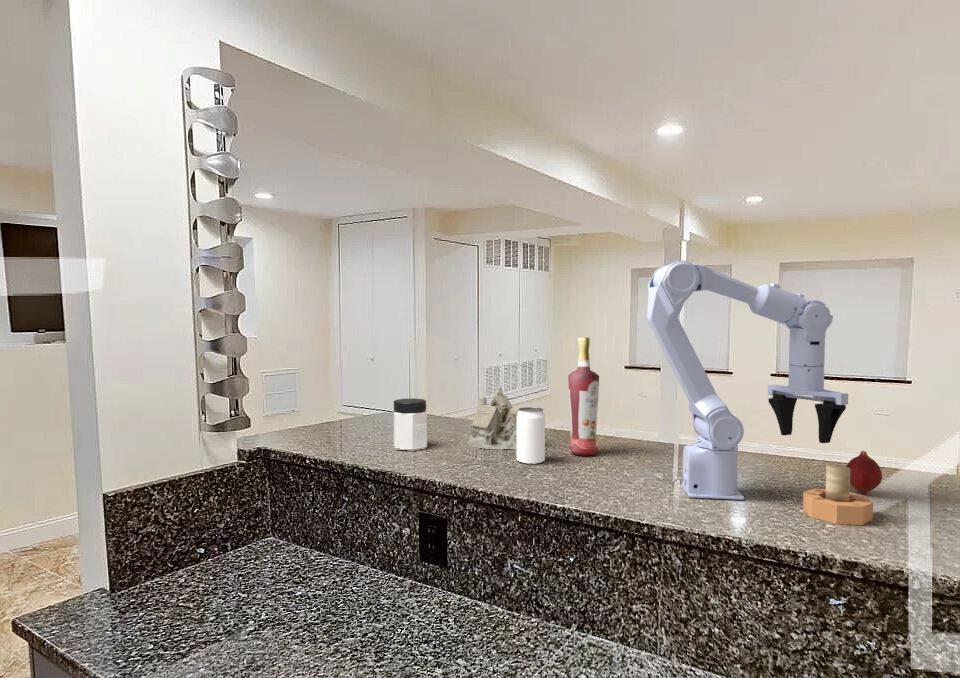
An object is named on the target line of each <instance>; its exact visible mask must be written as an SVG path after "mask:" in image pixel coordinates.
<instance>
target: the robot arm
mask: <svg viewBox="0 0 960 678" xmlns="http://www.w3.org/2000/svg"><path fill="white" fill-rule="evenodd" d="M647 290H648V297H647V299H648V300H647V311H646V319H647V322H648V324H649V326H650V329H651V330H652V332H653V335H655V338H656V340H657V342H658V344H659V345H660V348H661V349H662V352H663V353H664V355H665V358H666V359H667V361H668V364H669V365H670V367H671V369H672V371H673V374H675V375H674V376H675V377H676V379H677V380H678V383H679V385H680V386H681V389H682V391H683V392H684V394H685V397H686V399H687V401H688V403H689V404H688V410H689V412H690V414H691V417H692V428H693V430H694V432H695V433H696V435H698V436H697V439H696V441H695V444H692V445H691V444H689V445H685V446H684V447H683V452H682V483H681V486H682V487H683V489H684V491H685V493H686V494H687V495H688V497H689V498H696V499H697V498H698V499H699V498H700V499H719V500H720V499H721V500H745V497H744V495H743V494H742V493H741V492H740V491H739V490H738V464H739V463H738V460H739V457H738V456H739V455H738V453H739V450H738V448H739V444H740V442H741V441H742V440H743V437H744V435H745V434H744V432H745V430H744V429H745V428H744V425H743V423H742V422H741V420H740V419H739V418H738V417H737V416H735V415H734V414H733V413H732V412H731V411H730V410H729V408H728V406H727V404H726V403H725V402H724V401H723V399H722V398H721V397H720V396H719V395H718V393H717V392H716V390H715V388H714V386H713V384H712V382H711V380H710V378H709V377H708V375H707V372H706V370H705V368H704V366H703V364H702V362H701V361H700V358H699V357H698V355H697V353H696V351H695V349H694V347H693V345H692V343H691V341H690V338H689V337H688V335H687V333H686V332H685V329H684V327H683V325H682V324H681V323H682V322H681V321H680V320H679V315H680V314H681V311H682V309H683V307H684V305H685V303H686V302H687V300H688V299H689V298H690V297H691V296H692V295H693V294H694V292H701V291H709V292H712V293H715V294H718V295H720V296H724V297H727V298H730V299H733V300H736V301H739V302H743V303H745V304H747V305H748V307H749V309H750V311H751V312H752V313H753V314H755V315H758V316H761V317H764V318H766V319H769V320H771V321H773V322H777V323H780V324H782V325H785V326H786V328H788V329H789V341H788V343H789V351H788V385H779V384H771V385H770V384H769V385H767V395H768V396H771V397H769V398H768V404H769V405H770V406H771V409H772V411H773V413H774V415H775V416H776V420H777V422H778V423H777V424H778V428H779V430H780V434H781V436H785V437H786V436H791V435H792V433H793V425H794V424H793V423H794V422H793V421H794V420H793V419H794V412H795V407H796V404H797V400H798V399H799V400H807V401H813V402H821V403H815V404H814V409H815V411H816V415H817V421H818V441H819V443H821V444H827V443H828V444H829V443H831V440H832V436H833V433H834V431H835V427H836V425H837V424H838V421H839V419H840V417H841V416H842V415H843V414H844V411H846V409H847V405H849V393H848V392H847V393H846V392H839V391H836V390H835V391H834V390H828V389H825V387H824V386H825V357H826V355H825V353H826V352H825V351H826V349H825V347H826V335H827V334H826V333H827V330H828V328H829V327H830V326H831V324H832V323H833V320H834V316H833V315H832V314H831V311H830V309H829V306H826V305H827V304H825V303H824V302H822V301H820V300H816V299H813V300H812V299H811V300H806V299H805V294H801V293H796V294H794V293H792V292H789V291H786V290H784V289H781V285H780V284H777V283H775V282H774V283H770V284H767V283H763V284H762V285H760V286H757V287H755V286H753V285H750V284H748V283H746V282H744V281H741V280H739V279H736V278H734V277H732V276H730V275H727V274H724V273H722V272H719V271H717V270H714V269H712V268H710V267H708V266H705V265H702V264H697V263H695V264H693V263H692V262H690V261H687V260H677V261H674V262H672V263H671V264H665V265H661V266H659V267H658V268H656V269H655V271H654V272H653V274H652V276H651V278H650V280H649V282H648V284H647Z"/></svg>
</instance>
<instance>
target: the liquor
mask: <svg viewBox="0 0 960 678" xmlns="http://www.w3.org/2000/svg"><path fill="white" fill-rule="evenodd" d="M577 341H578V342H577V343H578V344H577V346H578V350H579V351H578V363H577V369H576V370H574V371H572V372H571V373H570V374H568V377H567V378H568V399H569V401H568V402H569V419H570V420H569V421H570V423H569V424H570V426H569V427H570V445H569V446H568V449H569V450H570V451H571V453H572V454H573V455H575V454H576V455H575V456H578V455H580V456H579V457H590V455H591V456H594V454H595V453H596V452H597V451H598V450H599V448H598V447H597V426H598V425H597V424H598V408H599V407H598V406H599V394H600V393H599V390H600V389H599V388H600V375H599V374H597V372H595V371H593V370H592V369H591V364H590V362H591V361H590V351H589V350H590V344H591V343H590V337H584V336H583V337H578V338H577Z"/></svg>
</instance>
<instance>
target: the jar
mask: <svg viewBox="0 0 960 678" xmlns="http://www.w3.org/2000/svg"><path fill="white" fill-rule="evenodd" d="M427 415H428V414H427V400H426V399H423V398H400V399H394V401H393V447H394V446H395V448H400V449H417V448H422V447H427V448H428V425H427V424H428V420H427V419H428V417H427ZM395 448H394V449H395Z"/></svg>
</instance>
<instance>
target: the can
mask: <svg viewBox="0 0 960 678" xmlns="http://www.w3.org/2000/svg"><path fill="white" fill-rule="evenodd" d="M518 410H519V412H518V414H517V450H516V461H517V462H518V461H519V462H522V463H541V462H543V461H544V462H545V461H546V456H545V455H546V416H545V413H544V409H543V408H541V407H534V406H529V407H528V406H527V407H519V408H518ZM519 462H518V463H519ZM544 462H543V463H544ZM522 463H521V464H522ZM541 464H542V463H541Z"/></svg>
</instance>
